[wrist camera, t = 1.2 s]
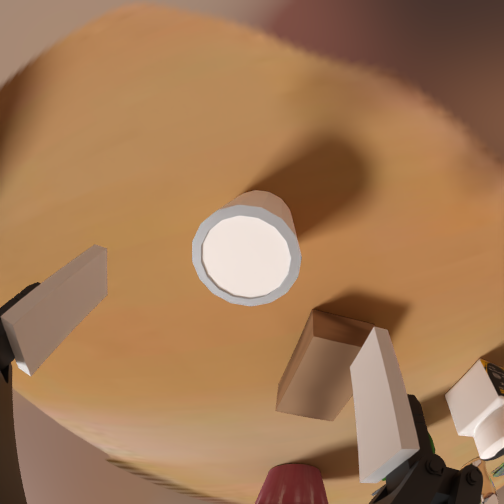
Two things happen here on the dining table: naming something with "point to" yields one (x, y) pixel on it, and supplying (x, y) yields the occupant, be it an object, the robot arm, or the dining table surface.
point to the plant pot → (293, 486)
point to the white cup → (248, 250)
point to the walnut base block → (322, 366)
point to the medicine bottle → (480, 408)
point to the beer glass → (485, 483)
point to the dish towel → (498, 471)
